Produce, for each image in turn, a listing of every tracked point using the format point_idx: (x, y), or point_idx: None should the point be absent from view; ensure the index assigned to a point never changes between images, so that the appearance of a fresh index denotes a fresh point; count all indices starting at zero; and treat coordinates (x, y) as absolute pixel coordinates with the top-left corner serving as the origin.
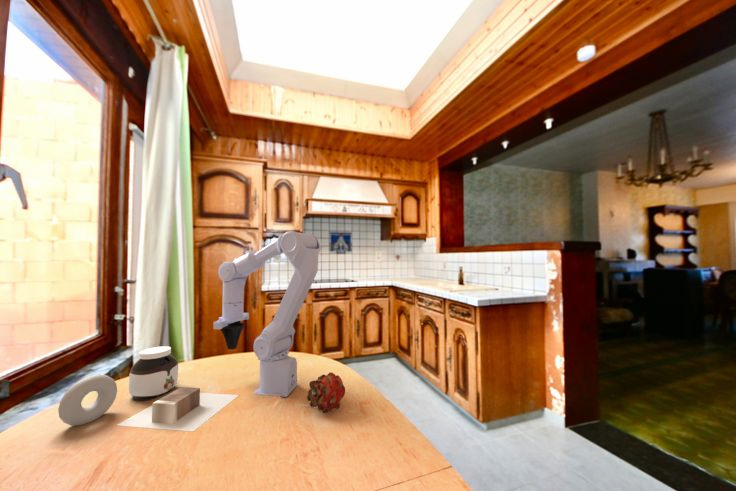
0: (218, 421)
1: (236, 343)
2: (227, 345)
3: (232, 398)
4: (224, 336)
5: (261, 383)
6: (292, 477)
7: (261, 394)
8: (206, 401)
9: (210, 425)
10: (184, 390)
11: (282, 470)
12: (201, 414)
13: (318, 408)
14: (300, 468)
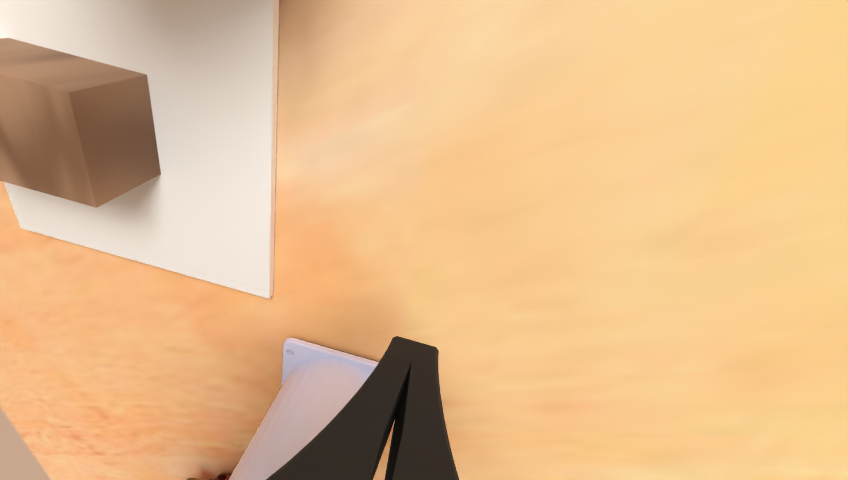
0: (109, 270)
1: (393, 434)
2: (379, 363)
3: (238, 282)
4: (319, 435)
5: (280, 393)
6: (20, 419)
7: (282, 366)
8: (194, 191)
9: (83, 255)
10: (43, 138)
11: (26, 408)
12: (105, 212)
13: (224, 475)
14: (43, 429)
